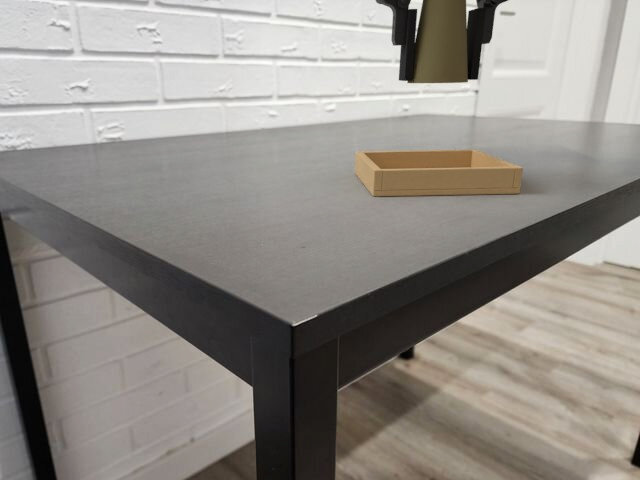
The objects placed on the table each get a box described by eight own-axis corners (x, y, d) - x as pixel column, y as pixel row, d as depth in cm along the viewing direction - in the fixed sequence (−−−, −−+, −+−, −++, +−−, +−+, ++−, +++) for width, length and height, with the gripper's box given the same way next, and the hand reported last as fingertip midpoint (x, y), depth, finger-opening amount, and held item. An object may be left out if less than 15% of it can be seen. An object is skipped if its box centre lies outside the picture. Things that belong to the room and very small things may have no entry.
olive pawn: (473, 82, 50) (487, -49, 46) (409, 83, 51) (418, -45, 47) (462, 81, 55) (474, -36, 52) (405, 82, 56) (412, -33, 52)
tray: (473, 170, 63) (476, 149, 62) (519, 193, 51) (523, 167, 50) (354, 173, 63) (355, 151, 62) (373, 196, 51) (374, 170, 50)
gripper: (549, -185, 48) (513, 78, 57) (348, -182, 48) (341, 80, 57) (596, -229, 41) (546, 79, 50) (360, -225, 41) (350, 82, 50)
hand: (437, 79), depth 53 cm, fingers closed on olive pawn, 6 cm apart
